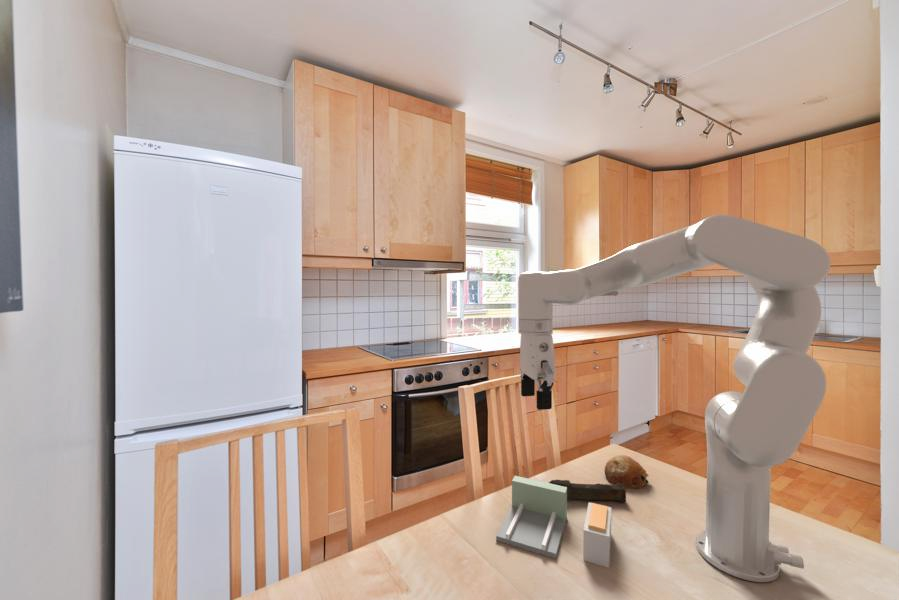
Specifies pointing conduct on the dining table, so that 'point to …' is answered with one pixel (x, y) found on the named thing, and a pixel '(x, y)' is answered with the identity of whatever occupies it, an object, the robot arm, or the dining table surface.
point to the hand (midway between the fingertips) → (535, 402)
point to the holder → (597, 534)
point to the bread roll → (625, 472)
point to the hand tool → (593, 491)
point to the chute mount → (535, 516)
